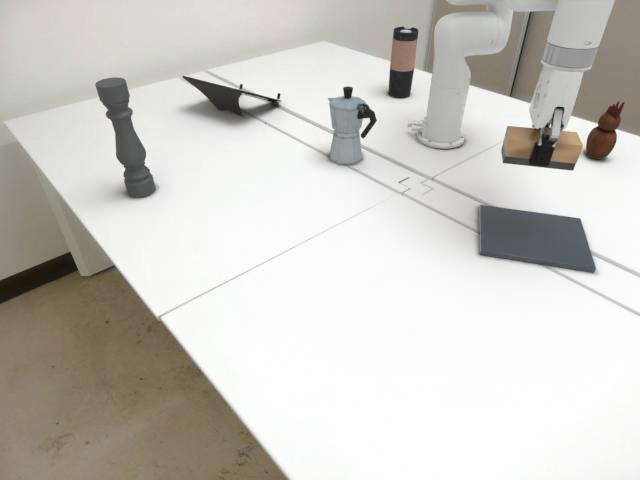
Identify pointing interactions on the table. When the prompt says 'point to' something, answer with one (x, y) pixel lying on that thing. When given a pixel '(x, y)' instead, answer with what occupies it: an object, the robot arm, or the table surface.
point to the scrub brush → (524, 139)
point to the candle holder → (126, 137)
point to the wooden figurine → (604, 133)
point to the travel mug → (402, 61)
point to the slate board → (534, 238)
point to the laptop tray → (225, 95)
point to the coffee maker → (348, 127)
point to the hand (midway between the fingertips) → (536, 156)
